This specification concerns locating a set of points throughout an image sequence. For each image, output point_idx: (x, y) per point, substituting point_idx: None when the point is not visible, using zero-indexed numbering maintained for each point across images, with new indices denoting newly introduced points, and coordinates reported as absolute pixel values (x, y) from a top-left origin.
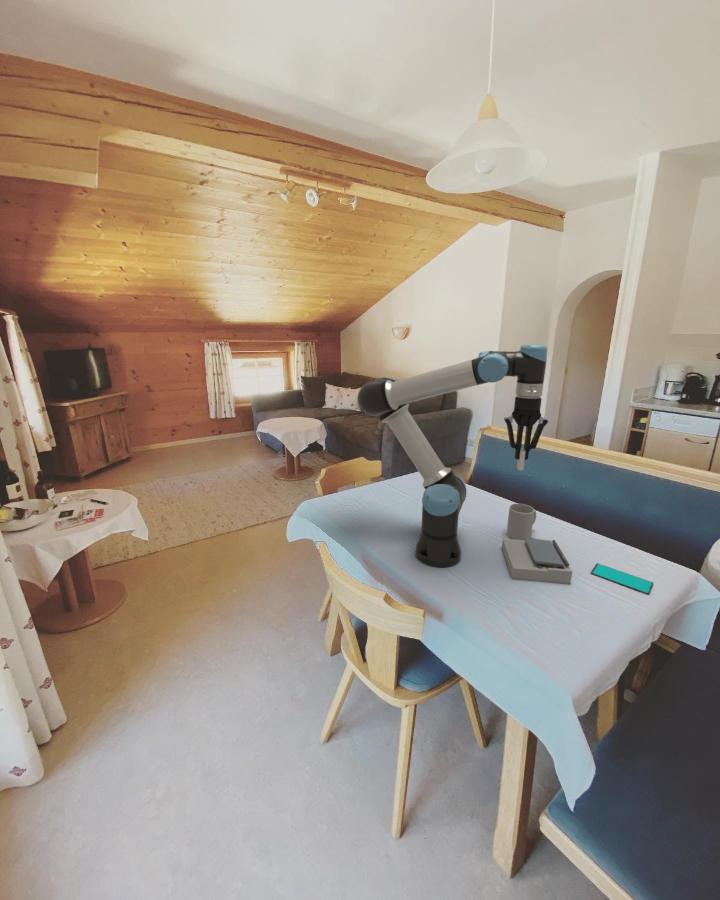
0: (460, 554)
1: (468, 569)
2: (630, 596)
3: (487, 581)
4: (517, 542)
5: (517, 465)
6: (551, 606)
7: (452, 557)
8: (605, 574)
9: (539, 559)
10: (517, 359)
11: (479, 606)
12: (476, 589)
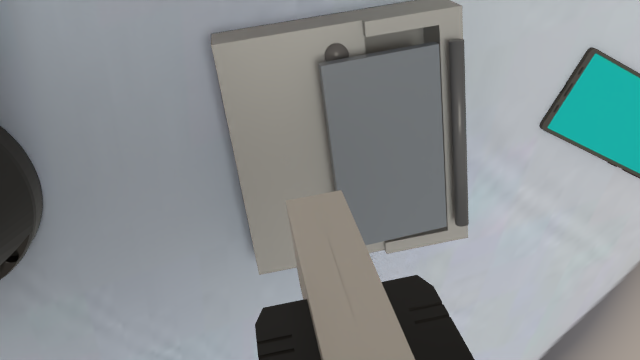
0: (34, 217)
1: (91, 249)
2: (609, 214)
3: (172, 293)
4: (284, 63)
5: (293, 239)
6: None
7: (8, 263)
8: (588, 122)
9: (362, 234)
10: None
11: None
12: (142, 343)
